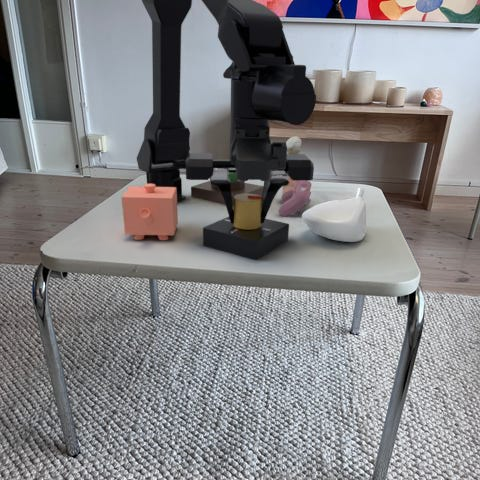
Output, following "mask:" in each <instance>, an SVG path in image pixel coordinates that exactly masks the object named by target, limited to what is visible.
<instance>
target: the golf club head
mask: <svg viewBox="0 0 480 480" xmlns="http://www.w3.org/2000/svg"><path fill="white" fill-rule="evenodd" d="M364 194H365V189H364V187H357V188H356V192H355V196H354V197H352V198H348V199H332V200H327V201H324V202H320V203H317V204H315V205H312V206H311V207H310V208H308V209H306V210H305V211H303V212H302V214H301V218H302V220H303V222H304V224H305V225H306V226H307V228H308V229H309V230H311V232H313V233H314V234H316V235H318V236H321V237H323V238H325V239H329V240H333V241H340V242H344V243H346V242H347V243H355V242H360V241H362V240H363V239H364V238H365V236H366V233H367V207H366V202H365V200H364V198H363V196H364Z"/></svg>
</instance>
